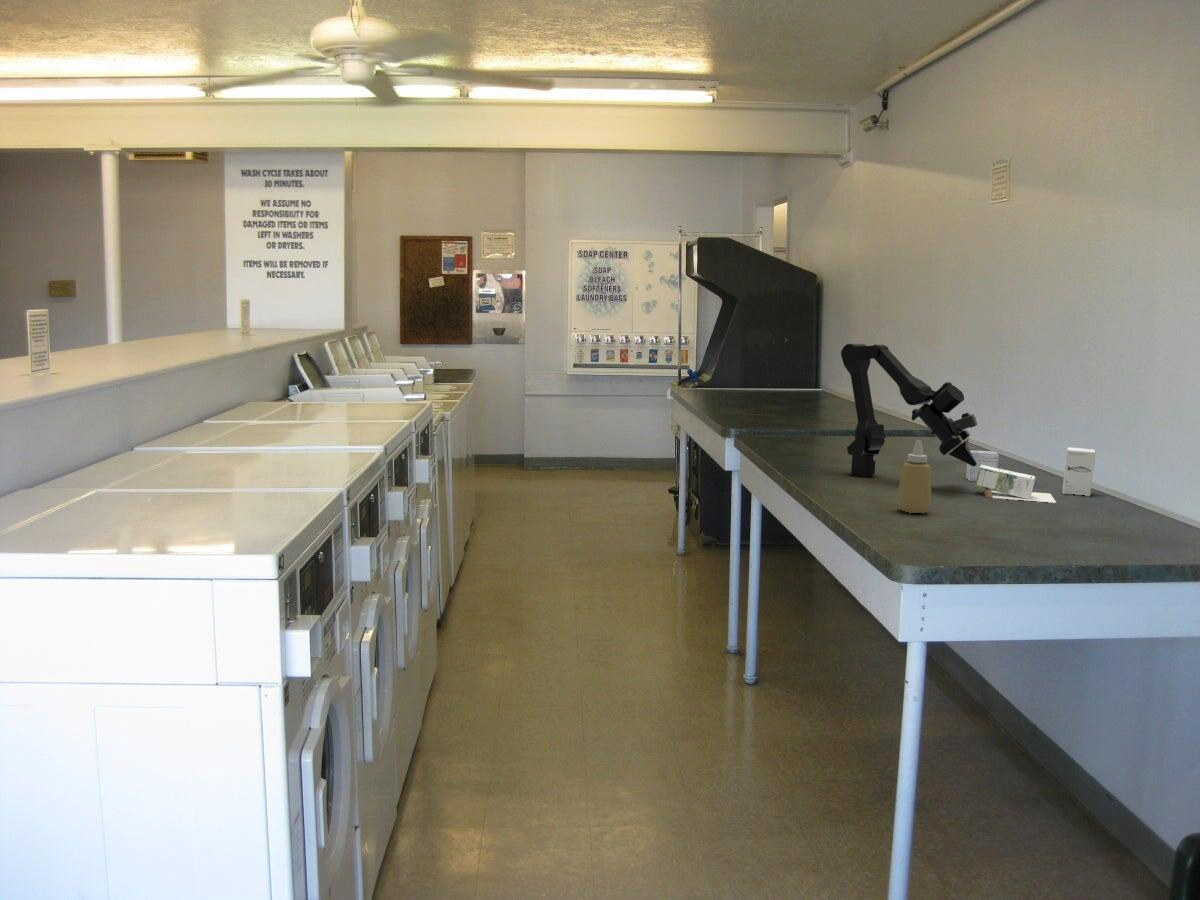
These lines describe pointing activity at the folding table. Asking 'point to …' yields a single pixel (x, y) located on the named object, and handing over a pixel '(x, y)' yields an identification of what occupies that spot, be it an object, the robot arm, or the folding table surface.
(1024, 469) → the folding table surface
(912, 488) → the squeeze bottle
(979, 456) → the medicine box
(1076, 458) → the supplement box
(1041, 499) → the mat
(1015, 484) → the syrup box
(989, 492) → the strip
